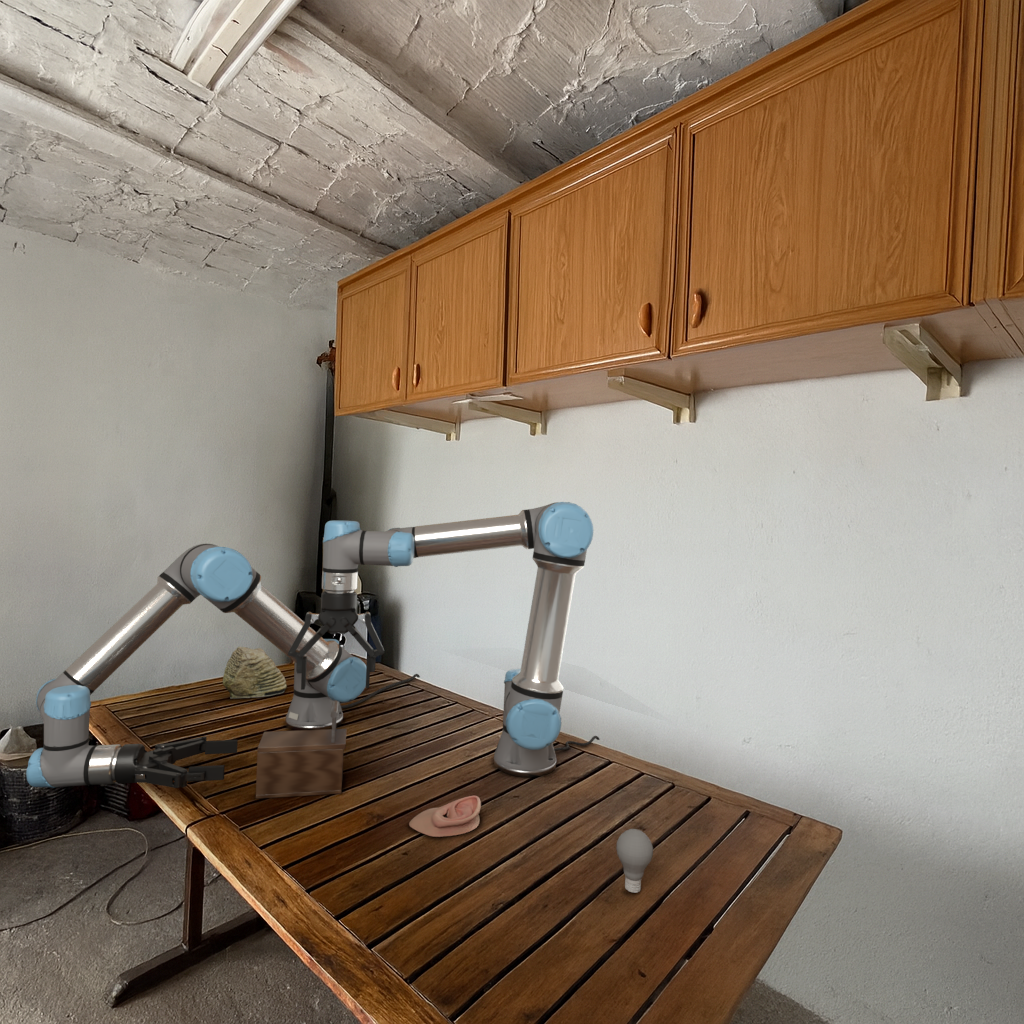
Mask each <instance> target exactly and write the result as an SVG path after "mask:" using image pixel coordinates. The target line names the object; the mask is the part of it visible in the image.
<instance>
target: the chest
mask: <svg viewBox="0 0 1024 1024" xmlns="http://www.w3.org/2000/svg"><path fill="white" fill-rule="evenodd" d="M344 750H345V749H324V750H302V751H280V752H257V753H256V754H257V755H256V756H257V757H256V778H255V779H256V781H255V799H257V800H258V799H273V798H275V799H276V798H289V797H305V796H306V797H307V796H322V795H323V796H324V795H338V794H342V792H343V791H342V790H343V789H342V788H343V777H344V776H343V774H344V752H345V751H344Z"/></svg>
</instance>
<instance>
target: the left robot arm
mask: <svg viewBox="0 0 1024 1024" xmlns="http://www.w3.org/2000/svg"><path fill="white" fill-rule="evenodd" d="M199 596H202V597H203V598H204V599H206V600H207V601H208V602H210V603H211V604H212V605H213V606H215V608H217V609H218V610H220V612H222V613H223V614H230V613H234V614H235V615H237V616H238V617H239V618H240V619H241V620H242V621H244V622H245V623H247V625H249V626H250V627H251V628H252V629H254V630H255V631H256V632H258V634H260V635H261V636H262V637H263V638H265V639H266V640H267V641H268V642H269V643H271V644H272V645H273V646H274V647H276V648H277V649H278V650H280V651H281V652H282V653H283V654H284V655H285V656H287V657H288V658H289V659H290V660H292V661H293V662H294V672H293V695H292V696H293V697H292V699H291V702H290V704H289V708H288V711H287V713H286V715H285V726H286V728H287V729H289V730H291V731H301V730H327V729H332V717H331V716H330V715H331V708H332V702H333V701H335V700H337V701H338V702H339V707H338V715H337V718H336V728H337V727H339V726H340V725H342V723H343V722H344V713H343V709H349V708H352V707H354V706H357V705H359V704H362V703H363V702H366V701H367V700H369V699H370V698H372V697H373V696H375V695H377V694H379V693H381V692H383V691H385V690H388V689H391V688H393V687H395V686H398V685H402V684H405V683H408V682H411V681H413V680H414V679H415V678H421V676H420V674H418V673H415V674H413V675H412V676H411V677H409V678H406V679H403V680H400V681H396V682H394V683H391V684H388V685H386V686H383V687H381V688H379V689H377V690H375V691H373V692H371V693H370V694H368V695H366V696H365V697H363V698H360V699H359V700H357V701H355V702H353V701H354V700H355V699H357V698H358V697H359V696H360V695H362V693H363V692H364V691H365V689H366V663H365V662H364V661H363V660H362V659H361V658H359V657H357V656H354V655H353V654H351V653H350V652H349V651H347V649H345V648H344V647H343V646H342V645H341V644H340V641H339V640H338V639H336V638H323V636H322V637H321V638H320V639H319V640H318V641H317V642H316V643H315V644H314V645H313V646H312V648H311V649H310V650H309V651H308V652H307V653H306V654H305V655H304V656H303V657H307V665H306V687H305V690H301V675H302V673H297V672H296V665H297V659H296V658H295V657H293V656H289V655H288V652H289V650H290V648H291V646H292V644H293V643H294V641H295V639H296V637H297V636H298V634H299V632H300V630H301V628H302V627H303V625H304V623H305V620H302V619H301V618H300V617H299V616H298V615H297V614H296V613H294V611H293V610H292V609H290V608H289V607H288V606H287V605H286V604H284V603H283V602H282V601H280V600H279V599H278V598H277V597H276V596H275V595H273V594H272V592H270V591H269V590H268V589H267V588H265V586H264V585H262V576H261V574H260V573H259V572H258V571H256V569H254V568H253V567H252V566H251V563H250V561H249V560H248V558H247V557H246V556H244V555H243V553H241V552H240V551H238V550H236V549H233V548H232V547H231V548H230V547H228V546H219V545H216V544H214V543H199V544H196V545H194V546H191V547H190V548H188V549H186V550H185V551H184V552H182V553H181V554H180V555H179V556H178V557H177V558H176V559H175V560H173V562H172V563H170V565H169V566H168V567H166V568H165V569H164V570H163V571H162V572H161V573H160V574H159V575H158V576H157V581H156V584H155V585H154V586H153V587H151V589H150V590H148V592H147V593H145V594H144V596H142V597H141V598H140V599H139V600H138V601H136V603H135V604H134V605H132V607H131V608H130V609H128V610H127V611H126V612H125V613H124V614H123V615H122V616H121V617H120V618H119V619H118V620H117V621H116V622H115V623H114V624H112V625H111V627H109V628H108V629H107V630H106V631H105V632H104V633H103V634H102V635H101V636H100V637H99V638H98V639H97V640H96V641H95V642H94V643H92V644H91V645H90V646H89V647H88V648H87V649H86V650H85V651H84V652H83V653H82V654H81V655H79V657H78V658H77V659H75V660H74V661H73V662H72V663H71V664H70V665H69V666H68V667H67V668H65V670H63V672H61V673H60V674H59V675H58V676H57V677H56V678H52V679H50V680H47V681H46V682H44V683H43V684H42V685H41V686H40V687H39V689H38V690H37V693H36V696H35V705H36V708H37V710H38V711H39V713H40V717H41V720H42V722H43V747H39V748H37V749H35V750H34V751H33V752H32V753H31V755H30V757H29V759H28V762H27V768H26V773H25V774H26V775H25V776H26V782H27V783H28V784H29V785H30V786H31V787H33V788H51V789H56V788H57V789H58V788H64V787H78V786H98V785H100V787H105V786H106V785H115V783H117V784H119V785H122V784H123V785H124V784H151V785H156V786H162V787H167V788H173V789H179V788H181V789H183V788H186V787H187V786H188V782H189V783H191V782H193V783H195V782H209V781H210V782H212V781H223V780H224V779H225V766H226V765H225V764H219V765H218V764H217V765H216V764H215V765H199V766H197V765H196V766H189V767H188V769H187V768H184V767H181V766H179V765H176V762H178V761H180V760H183V759H187V758H189V757H193V756H197V755H200V754H204V755H221V754H225V755H226V754H237V753H238V744H239V743H238V742H239V741H238V739H222V740H221V739H220V740H219V739H217V740H207V739H208V738H207V736H206V735H204V736H200V737H194V738H190V739H185V740H179V741H174V742H169V743H158V744H155V745H154V750H149V751H147V749H146V747H145V745H144V743H143V744H142V743H127V744H123V745H122V744H119V743H116V744H99V745H89V743H90V742H89V741H90V719H91V717H90V716H91V715H90V714H91V706H92V701H91V695H92V694H93V693H94V692H95V691H96V690H97V689H98V688H99V687H100V686H101V685H102V684H103V683H104V682H105V681H107V679H108V678H110V676H112V675H113V673H115V671H117V669H119V668H120V667H121V666H122V665H123V664H124V663H125V662H126V661H127V660H128V659H129V658H130V657H131V656H132V655H134V653H135V652H136V651H137V650H138V649H139V648H140V647H141V646H142V645H143V644H145V642H147V640H148V639H150V638H151V636H153V634H155V633H156V632H157V631H158V630H159V629H160V628H161V627H162V626H163V625H164V624H165V623H166V622H167V621H168V620H169V619H170V618H171V617H172V616H174V614H176V612H177V611H178V610H179V609H180V608H181V607H182V606H184V605H190V604H192V603H193V602H194V601H195V600H196V599H197V598H198V597H199ZM316 632H317V631H315V630H314V629H313V628H312V627H310V626H309V628H308V630H307V632H306V633H305V635H304V637H303V639H302V640H301V642H300V644H299V646H298V648H297V649H296V650H298V651H300V650H301V649H302V648H303V647H304V645H305V644H306V643H307V642H308V641H309V640H310V639H311V638H312V637H313V636H314V635H315V634H316ZM350 702H352V703H350ZM341 703H342V704H341ZM344 703H348V704H344ZM343 704H344V705H343Z"/></svg>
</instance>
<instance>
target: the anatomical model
mask: <svg viewBox="0 0 1024 1024" xmlns="http://www.w3.org/2000/svg"><path fill="white" fill-rule="evenodd" d="M481 807H482V802H481V799H480V797H479V796H478V795H469V796H464V797H462V798H457V799H456V800H453V801H451V802H449V803H446V804H444V805H441V806H439V807H431V808H427V809H426V810H423V811H421V812H420V813H418V814H416V815H415V816H414V817H413V818H412V819H411V820H409V823H408V825H409V827H410V828H411V829H412V830H415V831H417V832H419V833H421V834H423V835H425V836H428V837H433V838H441V837H442V838H443V837H452V836H458V835H463V834H466V833H469V832H472V831H473V830H475V829H477V828H478V826H480V822H481V820H480V815H479V814H480V812H481Z"/></svg>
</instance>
